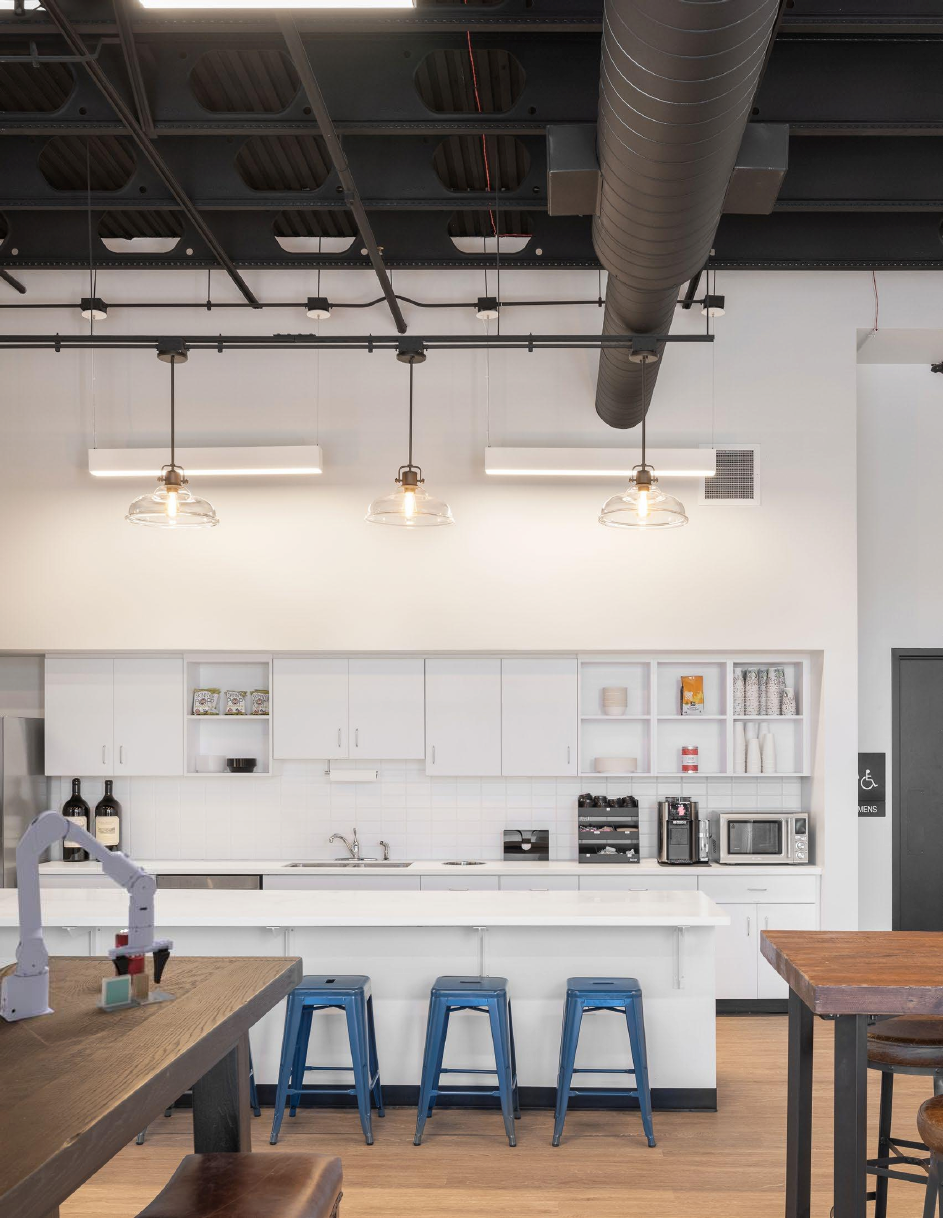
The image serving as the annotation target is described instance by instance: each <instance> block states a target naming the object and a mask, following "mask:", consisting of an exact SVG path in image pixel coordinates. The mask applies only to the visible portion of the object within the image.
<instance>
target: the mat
mask: <svg viewBox="0 0 943 1218" xmlns="http://www.w3.org/2000/svg"><path fill="white" fill-rule="evenodd" d="M149 992H150V993H152V994H154V995H156V996H158V997H160V998H162V1001H160V1002H165V1001H170V1000H175V999H178V997H176V996H174V995H172V994H170V993H168V992H166V991H164V990H161V989H159V990H152V991H149ZM160 1002H159V1003H160ZM156 1003H157V1002H155V1003H154V1004H156ZM92 1004H94V1005H96V1006H97V1007H99V1008H100V1009H101V1010H103V1011H106V1012H114V1011H118V1010H119V1011H120V1010H123V1009H127V1008H129V1009H130V1008H134V1007H140V1006H141V1005H139V1004H138V1003H136V1002H134V1001H132V1000H131V999H130V1003H126V1004H120V1005H115V1006H110V1007H104V1008H103V1007H102V1006H101V1004H102V1000H98V1001H93V1002H92ZM150 1004H152V1003H149V1004H148V1005H150ZM144 1005H146V1004H144ZM144 1005H143V1006H144Z"/></svg>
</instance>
